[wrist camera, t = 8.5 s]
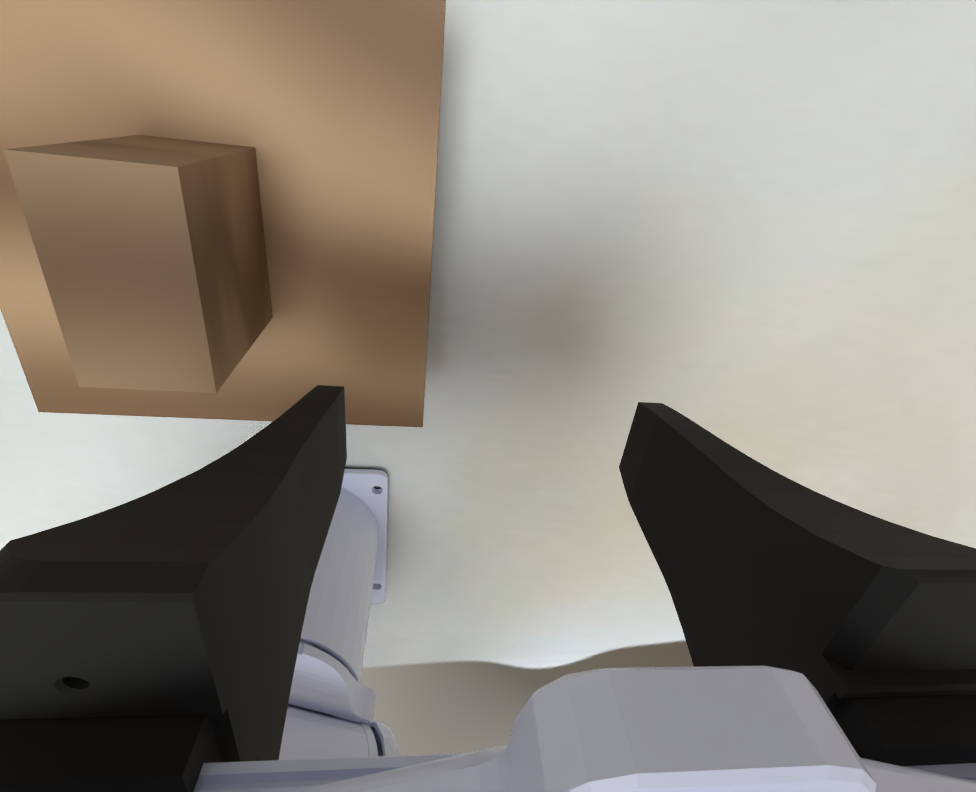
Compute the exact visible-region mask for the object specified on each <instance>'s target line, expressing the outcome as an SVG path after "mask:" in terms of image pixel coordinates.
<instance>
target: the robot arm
mask: <svg viewBox="0 0 976 792" xmlns="http://www.w3.org/2000/svg"><path fill="white" fill-rule="evenodd" d="M346 458H347V452H346V421H345V391H344V386H326V385H317V386H316V387H314V388H313V389H312V390H311V391H310V392H308V393H307V394H306V395H305V396H304V397H302V398H301V399H300V400H299V401H298V402H296V403H295V404H294V405H293V406H292V407H290V408H289V409H288V410H287V411H286V412H285V413H283V414H282V415H281V416H280V417H278V418H277V419H276V420H275V421H273V422H272V423H271V424H269V425H268V426H267V427H265V428H264V429H263V430H261V431H260V432H258V433H257V434H256V435H254V436H253V437H251V438H250V439H249V440H247V441H246V442H244V443H243V444H242V445H240V446H239V447H237V448H235V449H234V450H232V451H231V452H229V453H228V454H226V455H224V456H223V457H221V458H219V459H217V460H216V461H214V462H212V463H210V464H209V465H207V466H205V467H203V468H202V469H200V470H198V471H196V472H194V473H192V474H190V475H188V476H186V477H184V478H181V479H179V480H177V481H175V482H173V483H171V484H169V485H167V486H165V487H162V488H160V489H158V490H156V491H154V492H152V493H149V494H147V495H145V496H142V497H140V498H137V499H135V500H132V501H130V502H128V503H125V504H122V505H120V506H117V507H114V508H112V509H109V510H106V511H104V512H101V513H98V514H95V515H92V516H90V517H87V518H84V519H81V520H78V521H74V522H71V523H68V524H65V525H61V526H58V527H55V528H52V529H48V530H45V531H42V532H39V533H35V534H32V535H29V536H26V537H22V538H18V539H15V540H11V541H10V542H9V543H8V544H6V545H5V546H4V547H3V548H2V549H1V550H0V792H976V549H975V548H971V547H968V546H964V545H961V544H957V543H954V542H950V541H947V540H943V539H940V538H936V537H933V536H930V535H927V534H923V533H920V532H918V531H915V530H912V529H909V528H906V527H903V526H900V525H897V524H894V523H891V522H888V521H885V520H883V519H880V518H877V517H875V516H872V515H869V514H867V513H864V512H862V511H859V510H857V509H854V508H852V507H849V506H847V505H845V504H842V503H840V502H837V501H835V500H832V499H830V498H828V497H826V496H823V495H821V494H819V493H817V492H815V491H812V490H810V489H808V488H806V487H804V486H802V485H800V484H798V483H796V482H794V481H792V480H790V479H788V478H786V477H784V476H782V475H780V474H779V473H777V472H775V471H773V470H771V469H769V468H768V467H766V466H764V465H762V464H761V463H759V462H757V461H755V460H754V459H752V458H750V457H748V456H747V455H745V454H743V453H742V452H740V451H739V450H737V449H735V448H734V447H732V446H730V445H729V444H727V443H726V442H724V441H722V440H721V439H719V438H718V437H716V436H715V435H713V434H712V433H710V432H708V431H707V430H705V429H704V428H702V427H701V426H699V425H698V424H696V423H695V422H693V421H691V420H690V419H688V418H687V417H685V416H683V415H682V414H680V413H679V412H677V411H675V410H673V409H672V408H670V407H668V406H666V405H664V404H662V403H644V402H638V406H637V409H636V412H635V416H634V419H633V423H632V426H631V429H630V433H629V436H628V439H627V443H626V446H625V449H624V453H623V456H622V459H621V463H620V466H619V468H620V472H621V476H622V480H623V483H624V487H625V490H626V493H627V497H628V500H629V502H630V505H631V507H632V509H633V512H634V514H635V516H636V518H637V520H638V523H639V525H640V527H641V529H642V531H643V533H644V535H645V538H646V540H647V542H648V544H649V546H650V548H651V550H652V553H653V555H654V557H655V559H656V561H657V563H658V565H659V568H660V570H661V572H662V574H663V576H664V579H665V581H666V583H667V586H668V588H669V591H670V593H671V596H672V599H673V602H674V605H675V608H676V611H677V614H678V617H679V620H680V623H681V626H682V629H683V632H684V635H685V639H686V642H687V645H688V648H689V652H690V655H691V658H692V662H693V665H694V667H650V668H602V669H596V670H591V671H584V672H579V673H574V674H567V675H565V676H563V677H561V678H559V679H557V680H555V681H553V682H552V683H550V684H548V685H546V686H544V687H542V688H540V689H538V690H537V691H536V692H535V693H534V694H533V695H532V696H531V698H530V699H529V701H528V702H527V703H526V705H525V706H524V708H523V709H522V710H521V712H520V713H519V715H518V716H517V717H516V719H515V723H514V727H513V731H512V735H511V739H510V742H509V744H507V745H502V746H497V747H493V748H488V749H483V750H479V751H474V752H470V753H460V754H459V753H458V754H432V755H405V756H399V753H398V748H397V744H396V740H395V738H394V736H393V733H392V731H391V730H390V729H389V728H388V726H386V725H384V724H382V723H380V722H374V721H373V713H374V703H375V690H374V689H371V688H368V687H366V686H364V685H362V684H360V680H361V673H362V665H363V657H364V649H365V641H366V633H367V625H368V617H369V609H370V604H380V603H382V602H383V601H384V600H385V598H386V562H387V507H388V476H387V474H386V473H385V472H383V471H381V470H365V469H345V464H346ZM374 486H379V487H381V489H375V488H374ZM376 583H377V584H376Z"/></svg>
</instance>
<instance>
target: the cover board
mask: <svg viewBox="0 0 976 792" xmlns="http://www.w3.org/2000/svg"><path fill="white" fill-rule="evenodd" d="M445 4H446V0H0V309H1V312H2V314H3V317H4V320H5V323H6V325H7V328H8V331H9V333H10V336H11V339H12V341H13V344H14V347H15V349H16V352H17V355H18V357H19V360H20V363H21V365H22V368H23V371H24V373H25V376H26V379H27V382H28V384H29V387H30V390H31V392H32V395H33V398H34V400H35V403H36V406H37V408H38V411H39V412H53V413H78V414H103V415H128V416H154V417H179V418H204V419H229V420H254V421H275V420H276V419H277V418H278V417H280V416H281V415H282V414H283V413H285V412H286V411H287V410H288V409H289V408H290V407H292V406H293V405H294V404H295V403H296V402H298V401H299V400H300V399H301V398H302V397H304V396H305V395H306V394H307V393H308V392H310V391H311V390H312V389H313V388H314V387H316V386H317V385H326V386H344V391H345V421H346V424H355V425H380V426H406V427H423V409H424V391H425V372H426V354H427V336H428V317H429V299H430V280H431V262H432V243H433V225H434V207H435V188H436V170H437V151H438V133H439V115H440V96H441V78H442V59H443V41H444V23H445Z"/></svg>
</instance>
